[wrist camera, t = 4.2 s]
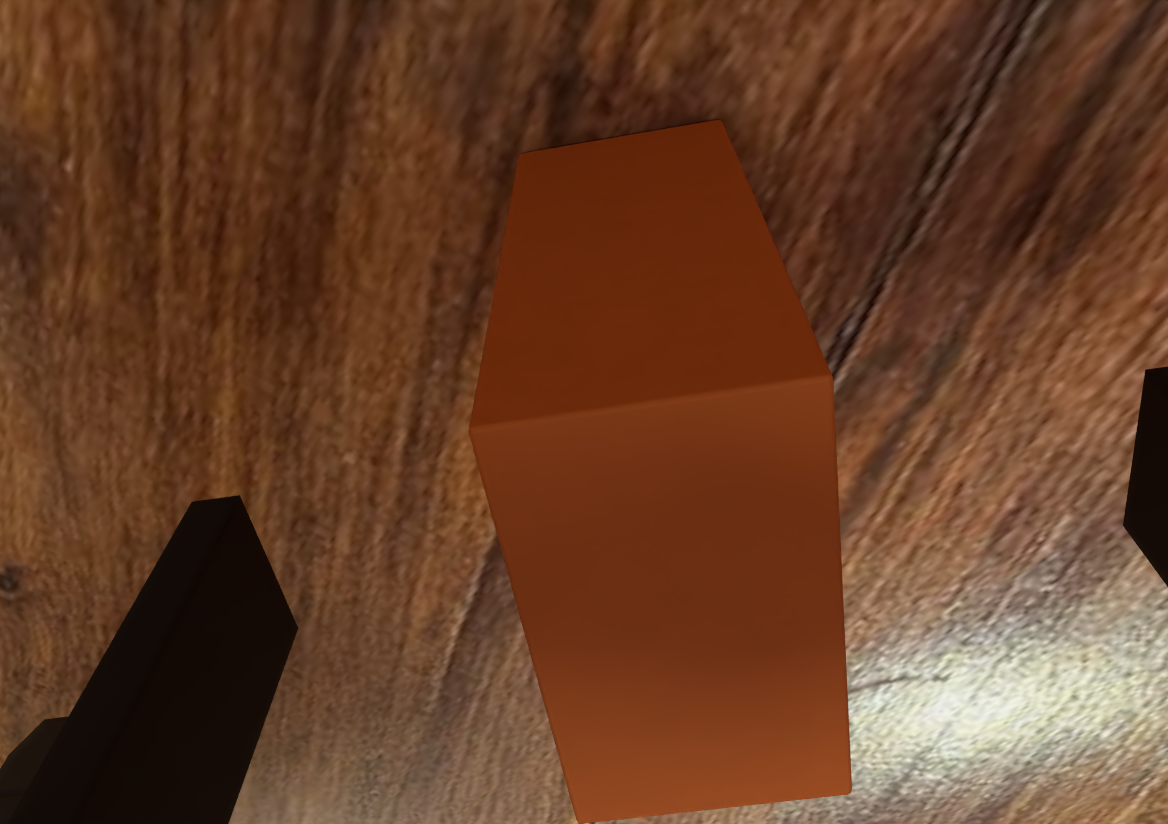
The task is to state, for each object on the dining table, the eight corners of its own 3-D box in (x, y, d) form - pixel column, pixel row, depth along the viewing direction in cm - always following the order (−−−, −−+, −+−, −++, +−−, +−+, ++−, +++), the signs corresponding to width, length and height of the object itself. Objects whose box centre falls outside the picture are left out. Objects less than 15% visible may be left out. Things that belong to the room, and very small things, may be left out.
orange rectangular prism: (579, 446, 23) (577, 826, 14) (517, 152, 19) (466, 430, 11) (751, 421, 23) (853, 796, 14) (722, 118, 19) (833, 375, 10)
